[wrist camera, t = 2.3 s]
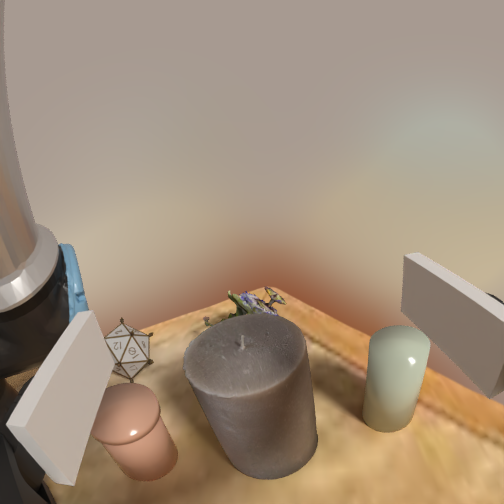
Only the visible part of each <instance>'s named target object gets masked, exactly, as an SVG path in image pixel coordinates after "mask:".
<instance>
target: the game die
mask: <svg viewBox="0 0 504 504" xmlns="http://www.w3.org/2000/svg"><path fill="white" fill-rule="evenodd" d="M120 322H121V324H120V325H119V326H117V327H116V328H115V329H114V330H113V331H111V332H110V333H109V334H108V335H107V336H105V337H104V339H105V342H106V344H107V347H108V349H109V351H110V354H111V356H112V359H113V361H114V363H115V365H114V367H113V371H115V372H117V373H119V374H121V375H123V376H125V377H127V378H130V383H133V379H132V378H133V377H134V376H135V375H136V374H137V373H138V372H139V371H140V370H141V369H142V368H143V367H144V366H145V365H146V364H147V363H148V364H152V363H154V362H153V360H151V359H149V337H151V336H153V333H149V335H147V334H145V333H143V332H140V331H138V330H136V329H134V328H132V327H130V326H128V325H126V324H124V323H123V322H124V321H123V318H121V319H120Z"/></svg>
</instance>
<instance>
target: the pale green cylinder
mask: <svg viewBox="0 0 504 504" xmlns="http://www.w3.org/2000/svg"><path fill="white" fill-rule="evenodd" d="M429 350H430V341H429V339H428V337H427V336H426V334H424V333H423V332H422V331H420V330H418V329H416V328H413V327H409V326H401V325H400V326H389V327H385V328H382V329H381V330H378V331H377V332H375V333H374V334H373V335H372V337H371V339H370V342H369V355H368V367H367V377H366V386H365V395H364V403H363V411H362V416H363V419H364V421H365V423H366V424H367V425H368V426H369V427H370V428H372V429H374V430H376V431H379V432H395V431H398V430H401V429H403V428H404V427H406V426H407V425H408V424H409V423H410V422H411V420H412V418H413V414H414V411H415V408H416V404H417V400H418V397H419V393H420V389H421V385H422V381H423V377H424V373H425V369H426V364H427V360H428V355H429Z"/></svg>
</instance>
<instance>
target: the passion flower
mask: <svg viewBox="0 0 504 504" xmlns="http://www.w3.org/2000/svg"><path fill="white" fill-rule="evenodd" d="M265 290H266V292H267V293H268V294H269V296H270V298H271V300H270V302H269V303H265V301H263V300H260V299H259V298H258V297H256V296H255V294H254V295H252V294H250V293H249V294H248V293H247V291H246V294H244V293H242V294H241V295H240V294H239V295H240V297H239V296H238V295H236V294H232V296H231V294H230V291H228V297H229V298H230V299H231V300H232V301H233V302H234V303H235V304H236V305H237V310H236V313H235V314H231V313H230V315H229V317H228V319H229V318H233V317H237V316H241V315H246V314H255V313H257V314H271V315H275V316H279V315H278V314H277V310H276V309H274V308H273V307H271V305H272V303H274V302H278V303H280V304H287V303H285V301H284V299H283V298H282V297H281V296H279V295H278V293H276V292H274V291H273V290H272V289H270V288H268V287H265ZM203 319H204V321H205V325H206V326H209V325H210V326H213V325H212V324H210V323H209V322H208V320H209V317H204V318H203ZM224 320H225V319H222V320H221V322H222V321H224Z"/></svg>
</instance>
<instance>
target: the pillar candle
mask: <svg viewBox="0 0 504 504" xmlns="http://www.w3.org/2000/svg"><path fill="white" fill-rule="evenodd" d="M184 354H185V356H184V357H183V358H184V366H183V370H185V376H186V377H187V379H188V380H189V383H190V385H191V386H192V388H193V391H194V393H195V395H196V397H197V399H198V401H199V403H200V405H201V407H202V409H203V411H204V413H205V415H206V417H207V419H208V421H209V423H210V425H211V427H212V429H213V431H214V433H215V435H216V437H217V438H218V440H219V442H220V444H221V446H222V447H223V450H224V451H225V453H226V454H227V456H228V458H229V460H230V461H231V463H232V464H233V465H234V466H235V467H236V468H237V469H238V470H239V471H241V472H242V473H244V474H246V475H247V476H250V477H253V478H257V479H268V480H269V479H278V478H282V477H285V476H288V475H290V474H292V473H294V472H296V471H298V470H299V469H301V468H302V467H303V466H304V465H305V464H306V463H307V462H308V461H309V460H310V459H311V458H312V456H313V455H314V453H315V451H316V448H317V443H318V435H317V430H316V416H315V405H314V397H313V389H312V382H311V374H310V367H309V359H308V353H307V346H306V340H305V338H304V336H303V334H302V332H301V330H300V329H299V327H297V326H296V325H295V324H294V323H293V322H291V321H289V320H287V319H285V318H283V317H280V316H275V315H271V314H257V313H255V314H247V315H241V316H237V317H233V318H229V319H226V320H224V321H222V322H219V323H217V324H215V325H213V326H212V327H210V328H208V329H207V330H205V331H203V332H202V333H201V334H200V335H199V336H198V337H197V338H196V339H194V340H193V341H191V342H190V344H189V347H188V348H187V349H186V351H185V353H184Z"/></svg>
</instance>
